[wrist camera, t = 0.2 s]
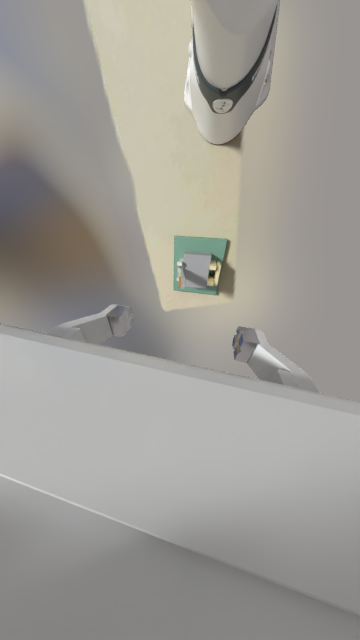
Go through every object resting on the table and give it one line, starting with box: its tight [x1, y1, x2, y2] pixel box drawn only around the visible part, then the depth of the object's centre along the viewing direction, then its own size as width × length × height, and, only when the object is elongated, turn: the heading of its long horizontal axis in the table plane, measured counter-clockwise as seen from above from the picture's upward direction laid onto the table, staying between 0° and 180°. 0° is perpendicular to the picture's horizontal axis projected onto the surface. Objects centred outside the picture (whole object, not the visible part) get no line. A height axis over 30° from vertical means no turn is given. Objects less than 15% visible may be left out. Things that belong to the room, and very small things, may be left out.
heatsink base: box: [174, 236, 227, 295], centre depth 49 cm, size 20×18×10 cm
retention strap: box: [177, 266, 185, 289], centre depth 43 cm, size 4×13×2 cm
